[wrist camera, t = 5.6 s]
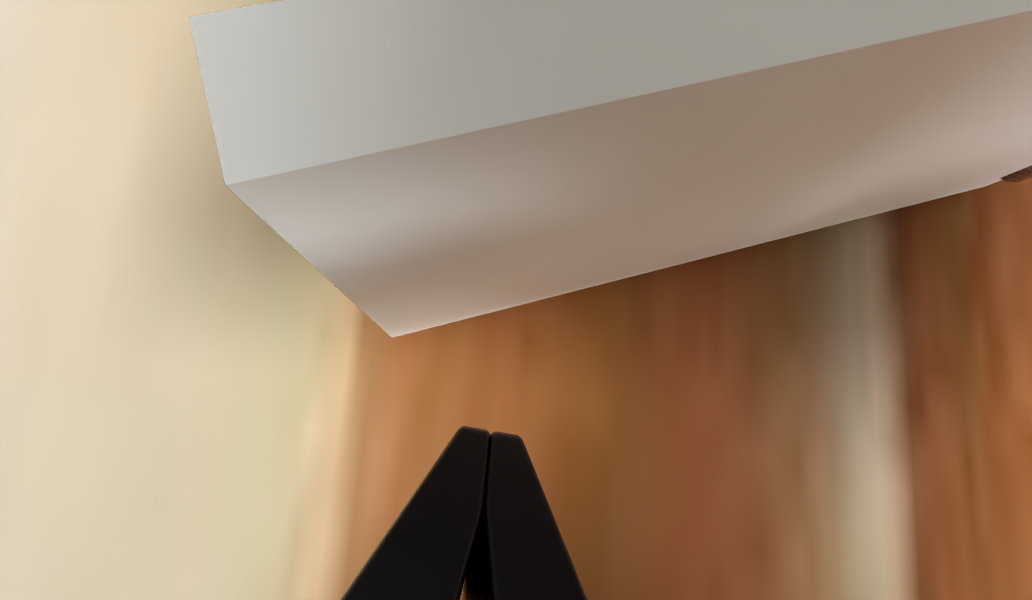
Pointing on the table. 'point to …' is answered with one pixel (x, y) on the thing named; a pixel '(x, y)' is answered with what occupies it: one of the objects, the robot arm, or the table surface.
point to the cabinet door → (596, 132)
